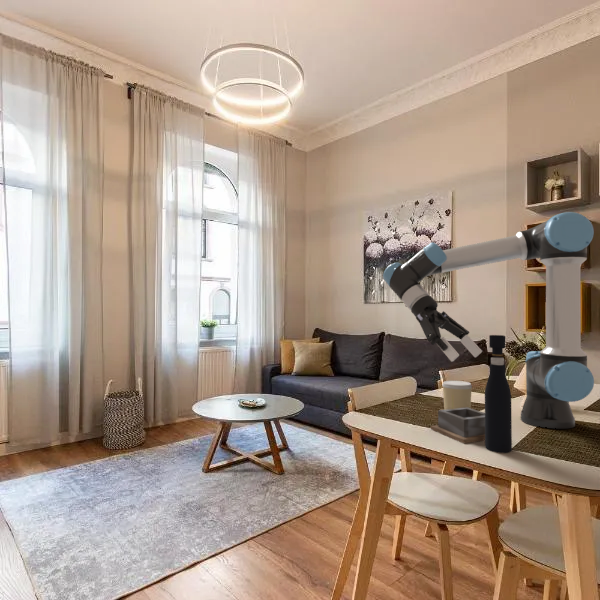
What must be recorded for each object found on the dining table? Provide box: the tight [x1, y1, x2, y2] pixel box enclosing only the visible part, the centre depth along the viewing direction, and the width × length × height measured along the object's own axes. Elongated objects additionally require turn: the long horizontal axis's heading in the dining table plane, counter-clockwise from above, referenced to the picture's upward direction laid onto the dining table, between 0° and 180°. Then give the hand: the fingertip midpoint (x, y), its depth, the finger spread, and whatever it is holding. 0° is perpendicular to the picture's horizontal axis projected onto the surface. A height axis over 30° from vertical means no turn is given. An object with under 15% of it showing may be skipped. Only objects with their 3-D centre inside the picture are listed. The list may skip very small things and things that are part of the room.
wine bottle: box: [484, 334, 513, 454], centre depth 111 cm, size 6×6×30 cm
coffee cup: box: [441, 380, 473, 410], centre depth 140 cm, size 9×9×12 cm
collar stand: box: [430, 407, 485, 444], centre depth 124 cm, size 14×14×6 cm
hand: (467, 356), depth 117 cm, fingers open, 13 cm apart
